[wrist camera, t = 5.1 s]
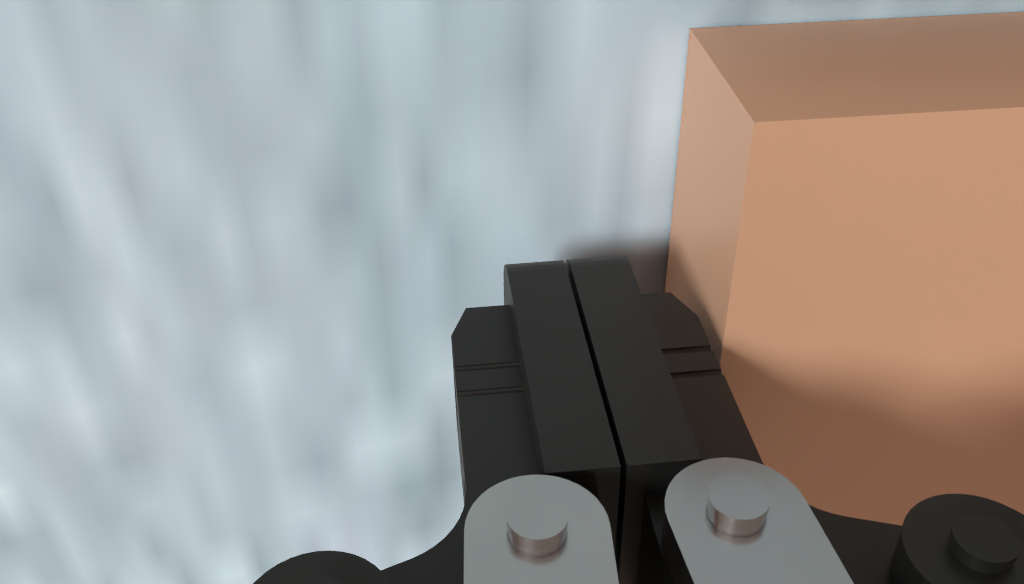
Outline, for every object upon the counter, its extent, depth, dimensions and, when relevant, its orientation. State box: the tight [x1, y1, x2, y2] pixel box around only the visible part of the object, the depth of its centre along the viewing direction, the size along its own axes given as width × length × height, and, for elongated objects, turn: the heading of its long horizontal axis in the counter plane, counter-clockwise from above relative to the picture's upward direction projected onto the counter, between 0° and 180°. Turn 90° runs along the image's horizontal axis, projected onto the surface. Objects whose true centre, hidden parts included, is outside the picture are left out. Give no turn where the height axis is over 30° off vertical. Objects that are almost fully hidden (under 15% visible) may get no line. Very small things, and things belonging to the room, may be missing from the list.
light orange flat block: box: [665, 12, 1024, 526], centre depth 13 cm, size 8×7×2 cm
